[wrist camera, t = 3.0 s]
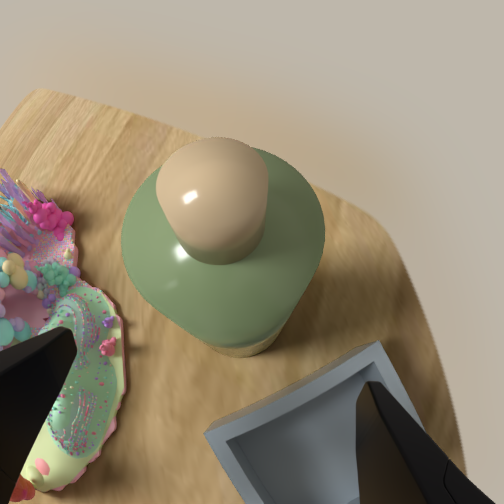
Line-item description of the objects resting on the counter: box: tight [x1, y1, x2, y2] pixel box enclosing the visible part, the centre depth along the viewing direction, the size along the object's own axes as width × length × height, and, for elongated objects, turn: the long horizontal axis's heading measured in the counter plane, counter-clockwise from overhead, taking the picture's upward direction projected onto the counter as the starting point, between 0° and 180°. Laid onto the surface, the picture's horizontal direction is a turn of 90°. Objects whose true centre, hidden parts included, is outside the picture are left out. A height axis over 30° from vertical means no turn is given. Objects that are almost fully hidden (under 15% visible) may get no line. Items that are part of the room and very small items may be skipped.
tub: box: [203, 340, 426, 504], centre depth 14 cm, size 10×10×4 cm
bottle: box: [121, 137, 325, 358], centre depth 13 cm, size 6×6×14 cm
